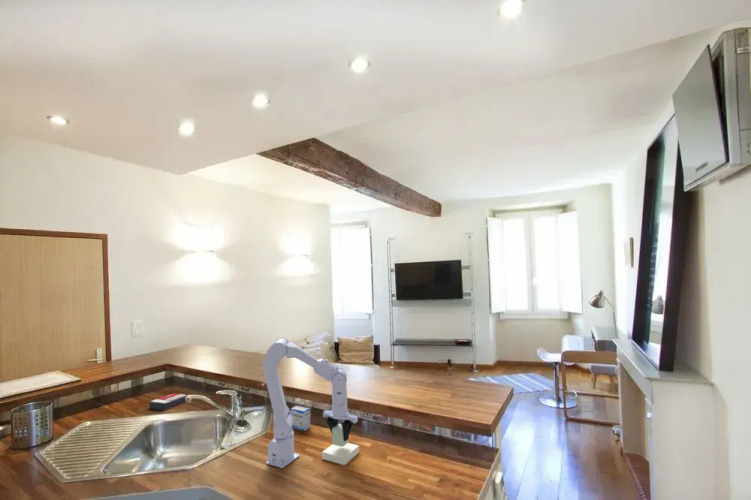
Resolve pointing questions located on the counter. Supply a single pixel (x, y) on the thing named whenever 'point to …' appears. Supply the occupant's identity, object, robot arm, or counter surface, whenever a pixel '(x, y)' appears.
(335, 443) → the sage block
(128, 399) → the counter surface
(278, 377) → the robot arm
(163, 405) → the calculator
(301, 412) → the medicine box
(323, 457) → the white block
